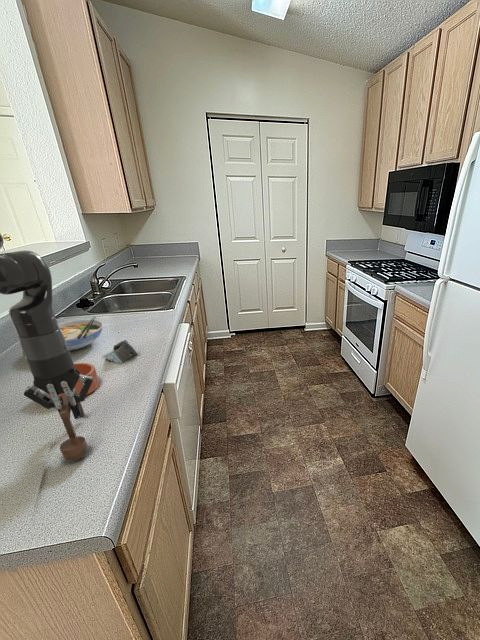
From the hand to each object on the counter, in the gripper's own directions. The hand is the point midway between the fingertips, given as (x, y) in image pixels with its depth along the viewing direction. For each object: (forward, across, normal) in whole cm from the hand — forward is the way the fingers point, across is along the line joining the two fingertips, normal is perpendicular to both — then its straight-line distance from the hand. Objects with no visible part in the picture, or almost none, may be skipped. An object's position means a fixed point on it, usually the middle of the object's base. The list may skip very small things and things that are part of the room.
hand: (72, 418), depth 77 cm
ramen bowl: (+7, +7, -65) cm, 66 cm away
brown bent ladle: (+5, 0, 0) cm, 5 cm away
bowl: (+6, +4, -27) cm, 28 cm away
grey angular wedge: (+7, -8, -45) cm, 46 cm away
